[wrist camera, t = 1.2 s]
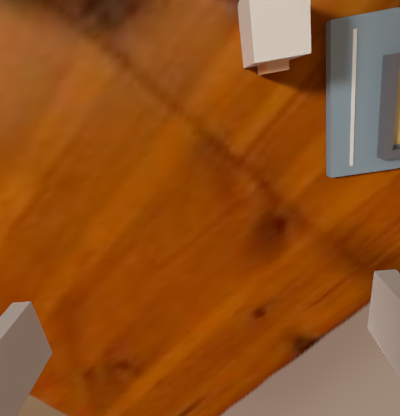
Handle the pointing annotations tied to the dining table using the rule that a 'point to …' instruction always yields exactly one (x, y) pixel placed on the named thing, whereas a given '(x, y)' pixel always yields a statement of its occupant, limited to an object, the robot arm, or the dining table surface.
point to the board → (363, 93)
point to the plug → (274, 33)
